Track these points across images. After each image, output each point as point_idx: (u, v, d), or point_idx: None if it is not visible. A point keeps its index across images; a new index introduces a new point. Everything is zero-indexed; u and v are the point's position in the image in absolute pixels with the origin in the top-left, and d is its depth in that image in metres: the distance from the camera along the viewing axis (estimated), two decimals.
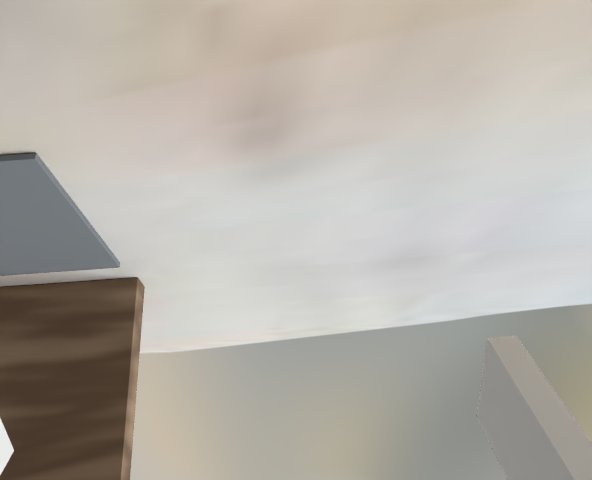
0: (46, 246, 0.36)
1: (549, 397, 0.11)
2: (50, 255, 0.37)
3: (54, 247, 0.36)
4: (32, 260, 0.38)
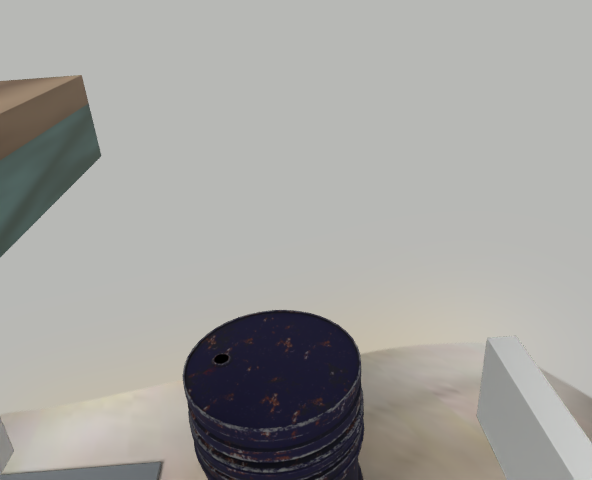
0: None
1: (549, 397, 0.11)
2: None
3: None
4: None
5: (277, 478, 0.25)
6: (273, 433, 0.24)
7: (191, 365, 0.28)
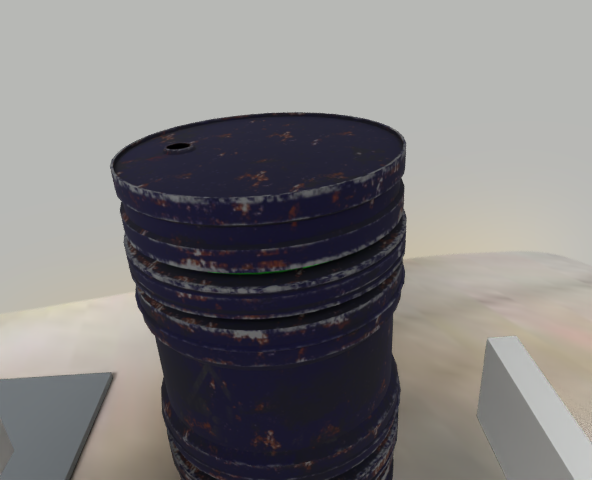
0: None
1: (549, 397, 0.11)
2: None
3: None
4: None
5: (263, 307, 0.14)
6: (254, 206, 0.13)
7: (129, 154, 0.17)
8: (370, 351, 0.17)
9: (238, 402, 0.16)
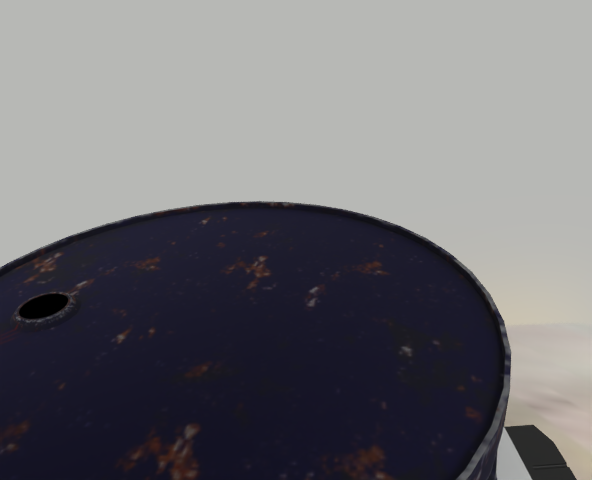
0: None
1: None
2: None
3: None
4: None
5: None
6: None
7: None
8: None
9: None
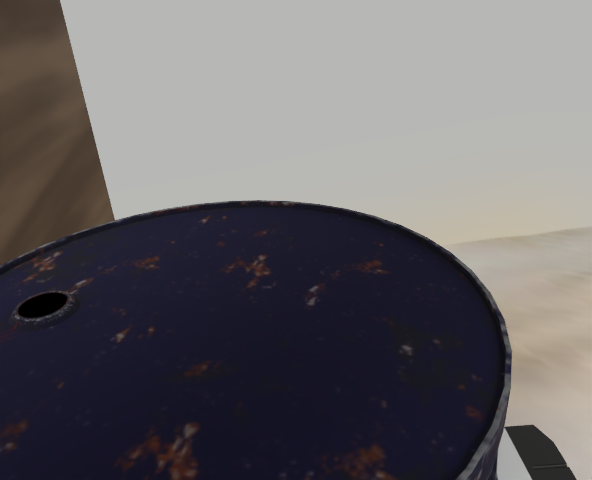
0: None
1: None
2: None
3: None
4: None
5: None
6: None
7: None
8: None
9: None
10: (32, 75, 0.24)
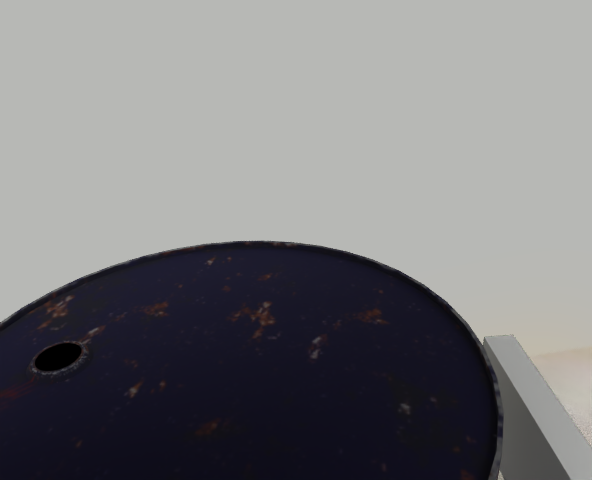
0: None
1: (545, 396, 0.11)
2: None
3: None
4: None
5: None
6: None
7: None
8: None
9: None
10: None
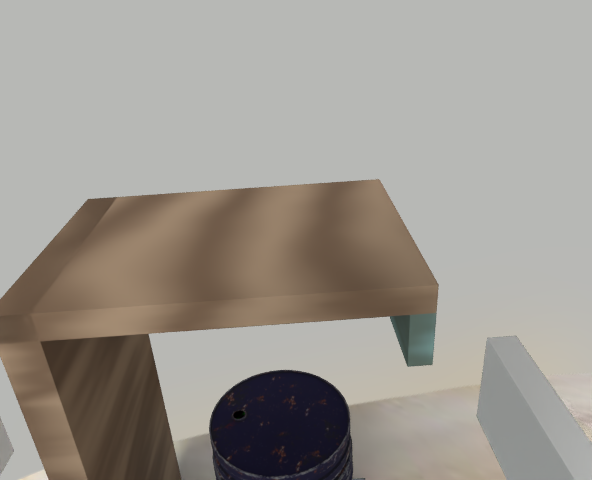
0: None
1: (549, 397, 0.11)
2: None
3: None
4: None
5: None
6: (281, 479, 0.31)
7: (215, 420, 0.35)
8: None
9: None
10: (125, 367, 0.34)
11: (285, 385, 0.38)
